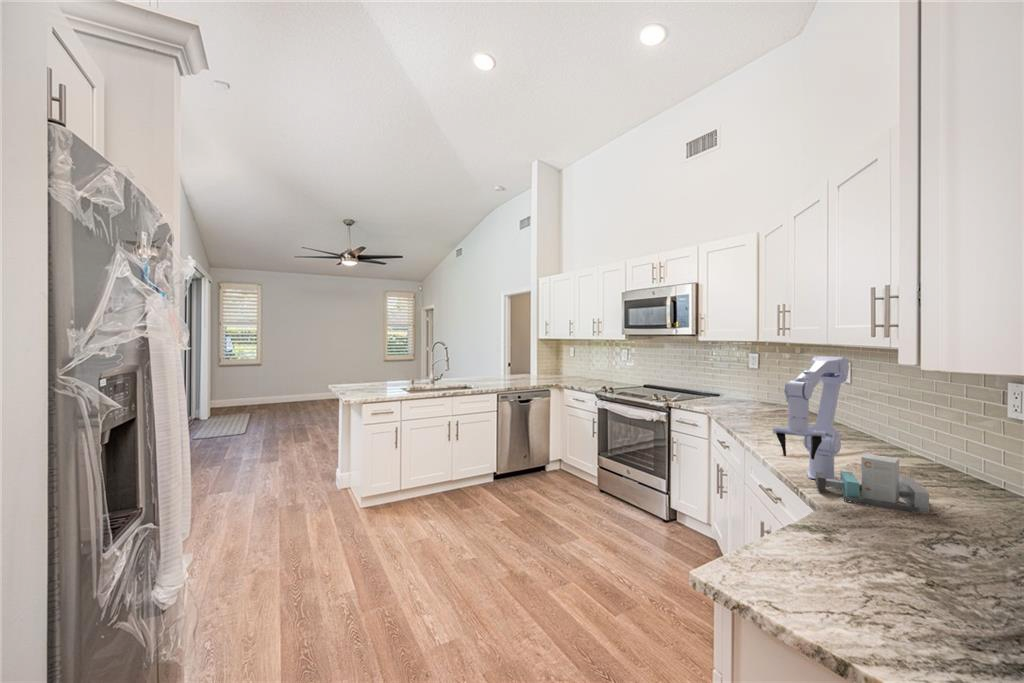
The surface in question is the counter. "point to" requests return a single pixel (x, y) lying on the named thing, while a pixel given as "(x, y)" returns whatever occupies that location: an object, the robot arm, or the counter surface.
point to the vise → (909, 493)
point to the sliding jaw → (839, 483)
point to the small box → (880, 478)
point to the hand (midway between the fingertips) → (798, 456)
